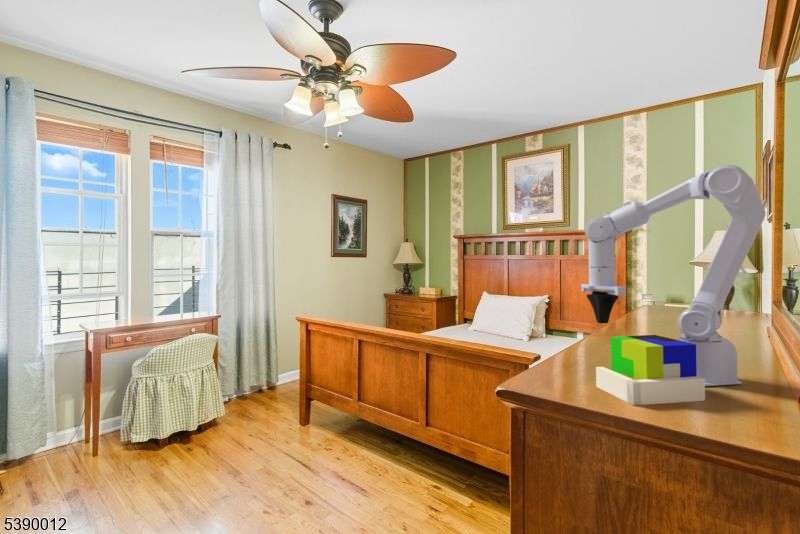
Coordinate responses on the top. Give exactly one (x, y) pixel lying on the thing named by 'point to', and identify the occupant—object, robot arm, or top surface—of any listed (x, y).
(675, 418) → the top surface
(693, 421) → the top surface
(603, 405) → the top surface
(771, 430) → the top surface
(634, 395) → the corner walls
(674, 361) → the puzzle toy
